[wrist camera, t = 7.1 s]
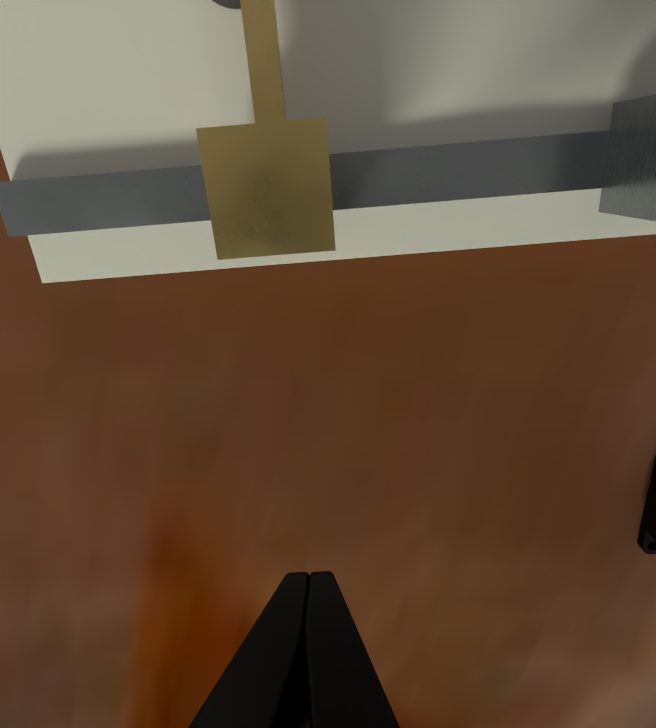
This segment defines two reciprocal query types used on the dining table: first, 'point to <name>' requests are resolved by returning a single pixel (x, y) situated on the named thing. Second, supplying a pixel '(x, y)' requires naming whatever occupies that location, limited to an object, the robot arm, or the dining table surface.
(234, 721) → the robot arm
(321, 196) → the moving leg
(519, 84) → the plate
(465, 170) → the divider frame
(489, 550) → the dining table surface
